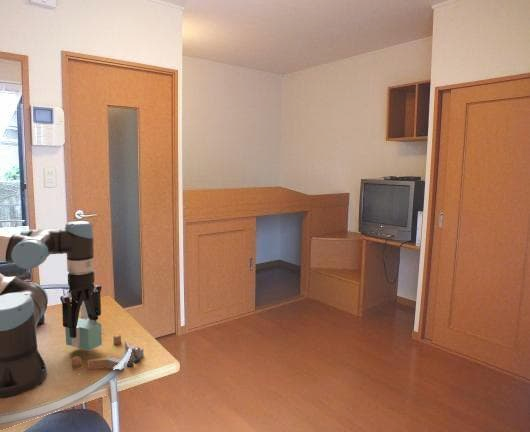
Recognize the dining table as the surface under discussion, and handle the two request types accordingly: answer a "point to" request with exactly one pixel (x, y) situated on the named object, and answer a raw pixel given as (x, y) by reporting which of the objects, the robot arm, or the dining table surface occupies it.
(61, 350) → the dining table surface
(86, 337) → the pale green block
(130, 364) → the bosses
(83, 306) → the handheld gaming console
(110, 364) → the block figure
